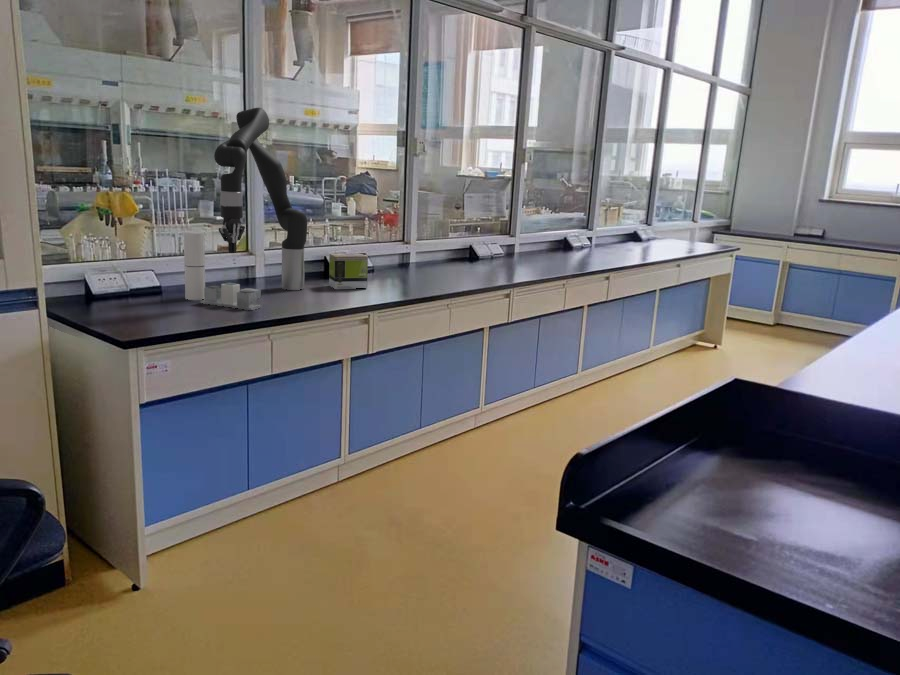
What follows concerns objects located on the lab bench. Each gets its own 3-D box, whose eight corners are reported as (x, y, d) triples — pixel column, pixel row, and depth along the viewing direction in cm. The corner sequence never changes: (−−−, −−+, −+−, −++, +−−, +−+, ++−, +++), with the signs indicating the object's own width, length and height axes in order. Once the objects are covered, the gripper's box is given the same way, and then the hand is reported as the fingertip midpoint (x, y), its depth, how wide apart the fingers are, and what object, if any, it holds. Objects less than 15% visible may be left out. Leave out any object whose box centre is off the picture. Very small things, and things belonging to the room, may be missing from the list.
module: (228, 301, 255) (228, 282, 253) (239, 303, 253) (239, 283, 251) (221, 303, 251) (221, 283, 249) (233, 304, 250) (232, 285, 248)
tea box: (361, 285, 312) (362, 253, 309) (367, 289, 303) (368, 256, 300) (328, 285, 306) (329, 252, 303) (333, 289, 297) (334, 255, 294)
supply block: (248, 296, 272) (247, 287, 271) (260, 298, 270) (260, 289, 269) (238, 298, 266) (238, 290, 266) (251, 300, 264) (251, 291, 264)
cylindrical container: (186, 300, 256) (185, 233, 250) (184, 296, 262) (182, 230, 256) (206, 300, 259) (205, 233, 253) (203, 296, 265) (202, 231, 259)
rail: (210, 300, 258) (210, 284, 257) (261, 308, 252) (261, 291, 250) (200, 303, 253) (200, 286, 251) (251, 310, 246) (251, 293, 245)
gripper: (233, 202, 252) (234, 250, 256) (210, 204, 240) (212, 253, 244) (251, 204, 250) (252, 252, 254) (229, 206, 238) (230, 255, 242)
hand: (232, 252), depth 249 cm, fingers closed
